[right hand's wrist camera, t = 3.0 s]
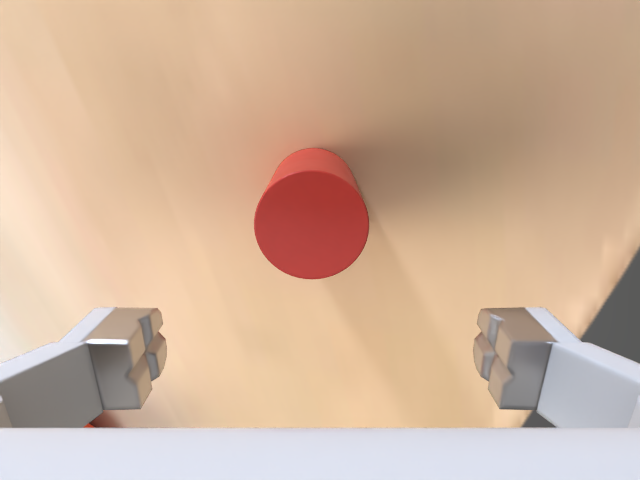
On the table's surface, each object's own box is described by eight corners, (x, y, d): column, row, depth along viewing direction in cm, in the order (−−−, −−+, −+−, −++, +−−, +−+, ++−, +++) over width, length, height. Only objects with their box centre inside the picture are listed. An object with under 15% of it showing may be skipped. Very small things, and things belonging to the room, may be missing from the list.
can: (255, 175, 26) (231, 208, 18) (328, 131, 25) (332, 147, 17) (299, 243, 27) (293, 297, 20) (369, 204, 26) (389, 246, 19)
